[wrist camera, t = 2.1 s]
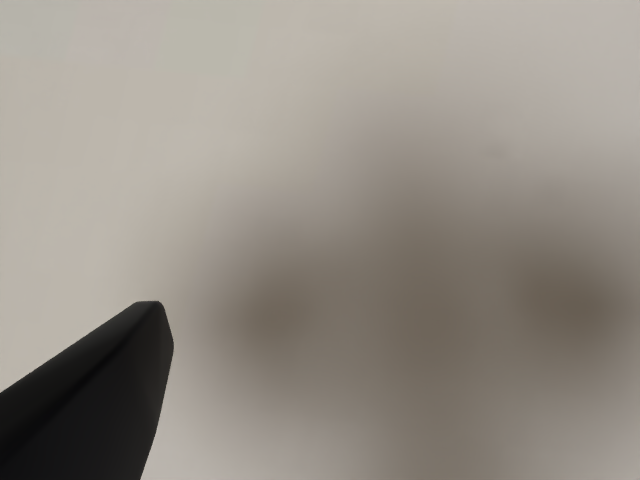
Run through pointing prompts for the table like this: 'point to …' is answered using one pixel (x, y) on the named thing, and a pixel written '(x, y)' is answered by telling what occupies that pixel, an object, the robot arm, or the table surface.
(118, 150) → the table surface
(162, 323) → the robot arm
